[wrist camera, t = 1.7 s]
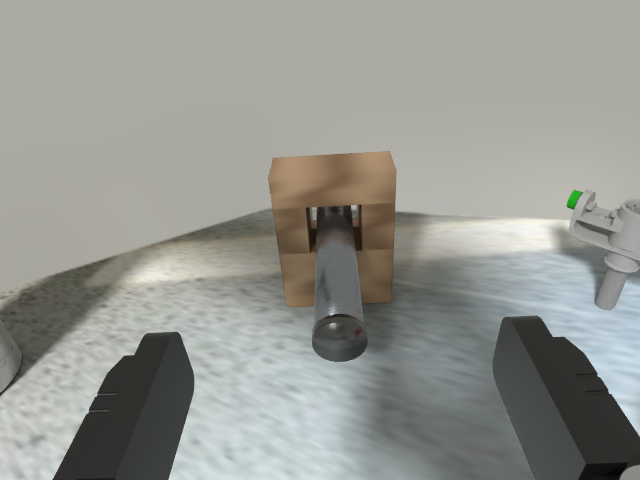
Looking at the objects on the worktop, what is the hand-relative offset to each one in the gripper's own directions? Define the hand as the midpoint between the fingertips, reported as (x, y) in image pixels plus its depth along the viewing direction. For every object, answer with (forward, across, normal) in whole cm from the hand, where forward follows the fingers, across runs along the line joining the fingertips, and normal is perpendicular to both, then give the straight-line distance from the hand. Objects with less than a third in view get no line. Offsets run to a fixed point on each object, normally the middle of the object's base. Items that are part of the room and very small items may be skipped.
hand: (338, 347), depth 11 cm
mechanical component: (+22, -24, +20) cm, 38 cm away
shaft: (+22, 0, +13) cm, 25 cm away
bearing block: (+25, 0, +20) cm, 32 cm away
